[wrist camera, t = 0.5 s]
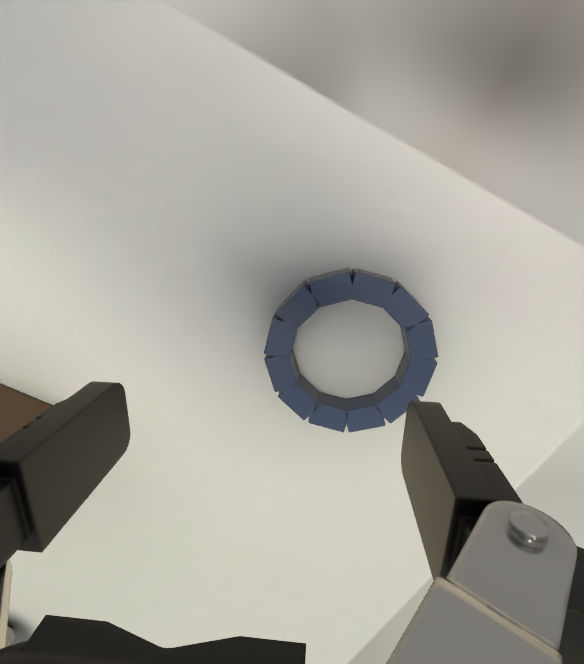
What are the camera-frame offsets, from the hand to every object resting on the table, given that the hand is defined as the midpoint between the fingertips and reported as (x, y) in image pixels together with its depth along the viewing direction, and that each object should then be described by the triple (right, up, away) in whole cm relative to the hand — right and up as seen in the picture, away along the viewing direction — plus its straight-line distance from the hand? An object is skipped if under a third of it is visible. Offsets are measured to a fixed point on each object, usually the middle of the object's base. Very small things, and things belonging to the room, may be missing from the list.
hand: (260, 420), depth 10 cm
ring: (+5, +1, +17) cm, 18 cm away
